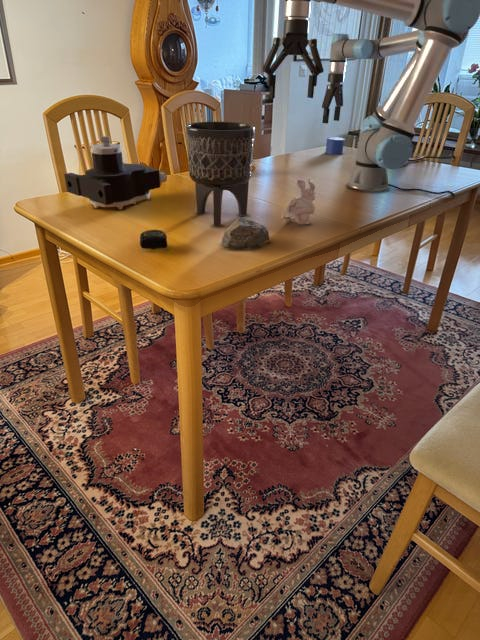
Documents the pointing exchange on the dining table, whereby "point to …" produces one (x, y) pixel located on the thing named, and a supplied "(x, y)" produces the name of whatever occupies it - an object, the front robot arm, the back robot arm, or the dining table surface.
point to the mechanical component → (113, 178)
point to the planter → (220, 162)
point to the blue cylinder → (334, 145)
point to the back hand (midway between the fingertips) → (330, 122)
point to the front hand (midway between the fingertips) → (291, 98)
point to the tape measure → (153, 239)
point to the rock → (245, 234)
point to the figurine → (301, 204)
